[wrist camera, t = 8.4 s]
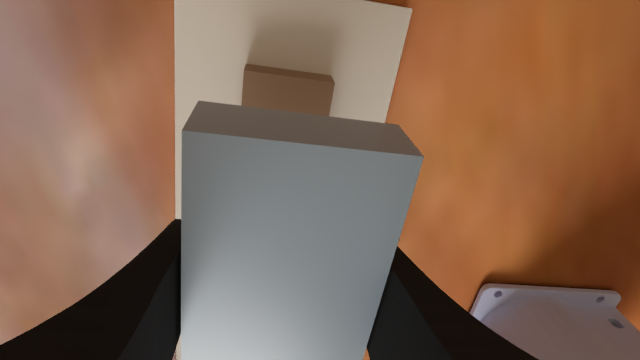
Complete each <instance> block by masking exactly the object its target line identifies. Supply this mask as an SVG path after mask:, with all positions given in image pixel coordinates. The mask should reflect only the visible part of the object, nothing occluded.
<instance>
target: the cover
mask: <svg viewBox="0 0 640 360" xmlns="http://www.w3.org/2000/svg"><path fill="white" fill-rule="evenodd" d="M423 159H424V156H423V155H422V154H421V152H420V151H419V150H418V149H417V147H416V146H415V145H414V144H413V142H412V141H411V140H410V139H409V137H408V136H407V135H406V134H405V133H404V131H403V130H402V129H401V128H400V126H399V125H397V124H388V123H380V122H372V121H364V120H355V119H347V118H339V117H331V116H322V115H314V114H306V113H298V112H289V111H281V110H273V109H265V108H256V107H248V106H240V105H232V104H223V103H215V102H207V101H199V100H198V102H197V104H196V106H195V107H194V109H193V111H192V113H191V115H190V116H189V118H188V120H187V122H186V124H185V125H184V127H183V129H182V172H181V360H363V357H364V353H365V350H366V347H367V343H368V340H369V337H370V333H371V330H372V327H373V324H374V320H375V317H376V314H377V310H378V307H379V304H380V300H381V297H382V294H383V291H384V287H385V284H386V281H387V277H388V274H389V271H390V267H391V264H392V261H393V258H394V254H395V251H396V248H397V244H398V241H399V238H400V234H401V231H402V228H403V225H404V221H405V218H406V215H407V211H408V208H409V205H410V201H411V198H412V195H413V192H414V188H415V185H416V182H417V178H418V175H419V172H420V168H421V165H422V162H423Z"/></svg>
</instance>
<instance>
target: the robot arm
mask: <svg viewBox="0 0 640 360" xmlns="http://www.w3.org/2000/svg"><path fill="white" fill-rule="evenodd" d="M495 292H496V293H495ZM620 300H621V296H620V294H618V293H617V292H616V291H613V290H596V289H579V288H562V287H545V286H528V285H511V284H494V283H489V284H485V285H483V286H482V287H481V289H480V291H479V293H478V295H477V298H476V300H475V302H474V304H473V307H472V309H471V311H470V313H468V312H467V311H466V310H464V309H463V308H462V307H461V306H460V305H458V304H457V303H456V302H455V301H454V300H452V299H451V298H450V297H449V296H448V295H447V294H446V293H444V292H443V291H442V290H441V289H440V288H439V287H438V286H437V285H436V284H435V283H433V282H432V281H431V280H430V279H429V278H428V277H427V276H426V275H425V274H424V273H423V272H422V271H421V270H420V269H419V268H418V267H417V266H416V265H415V264H414V263H413V262H412V261H411V260H410V259H409V258H408V257H407V256H406V255H405V254H404V253H403V252H402V251H401V249H400V248H399V247H398V246H397V248H396V251H395V254H394V258H393V261H392V264H391V267H390V271H389V274H388V277H387V281H386V284H385V287H384V291H383V294H382V297H381V300H380V304H379V307H378V310H377V314H376V317H375V320H374V324H373V327H372V330H371V333H370V337H369V340H368V343H367V350H368V353H369V357H370V360H640V331H639V330H638V329H637V328H636V327H635V326H634V325H633V324H632V323H631V322H630V321H629V320H628V319H627V318H626V317H625V316H624V315H623V314H622V313H621V312H620V311H619V310H618V309H617V308H616V306H617V305H618V303H619V302H620ZM180 334H181V219H175V220H174V221H172V222H171V223H170V224H169V225H168V226H167V227H166V228H165V229H164V230H163V231H162V232H161V233H160V234H159V235H158V236H157V237H156V238H155V239H154V240H153V241H152V242H151V243H150V244H149V245H148V246H147V247H146V248H145V249H144V250H143V251H142V252H140V253H139V254H138V255H137V256H136V257H135V258H134V259H133V260H132V261H130V262H129V263H128V264H127V265H126V266H124V267H123V268H122V269H121V270H120V271H118V272H117V273H116V274H115V275H113V276H112V277H111V278H110V279H108V280H107V281H106V282H105V283H103V284H102V285H101V286H99V287H98V288H97V289H95V290H94V291H92V292H91V293H90V294H88V295H87V296H85V297H84V298H82V299H81V300H79V301H78V302H76V303H75V304H73V305H72V306H70V307H69V308H67V309H65V310H63V311H62V312H60V313H58V314H57V315H55V316H53V317H52V318H50V319H48V320H46V321H45V322H43V323H41V324H40V325H38V326H36V327H34V328H33V329H31V330H29V331H27V332H25V333H23V334H21V335H19V336H17V337H15V338H14V339H12V340H10V341H8V342H6V343H4V344H2V345H0V360H172V358H173V355H174V352H175V349H176V346H177V343H178V340H179V337H180Z"/></svg>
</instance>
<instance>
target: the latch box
mask: <svg viewBox="0 0 640 360" xmlns="http://www.w3.org/2000/svg"><path fill="white" fill-rule="evenodd" d="M411 14H412V9H411V8H408V7H403V6H397V5H391V4H385V3H380V2H374V1H368V0H174V18H175V200H176V219H181V172H182V129H183V127H184V125H185V124H186V122H187V120H188V118H189V116H190V115H191V113H192V111H193V109H194V107H195V106H196V104H197V102H198V100H199V101H207V102H215V103H223V104H232V105H240V106H248V107H256V108H265V109H273V110H281V111H289V112H298V113H306V114H314V115H322V116H331V117H339V118H347V119H355V120H364V121H372V122H380V123H385V120H386V116H387V112H388V108H389V104H390V99H391V95H392V91H393V87H394V83H395V79H396V75H397V71H398V67H399V63H400V59H401V54H402V50H403V46H404V42H405V38H406V34H407V30H408V26H409V22H410V18H411ZM176 360H181V334H180V337H179V340H178V343H177V346H176Z"/></svg>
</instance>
